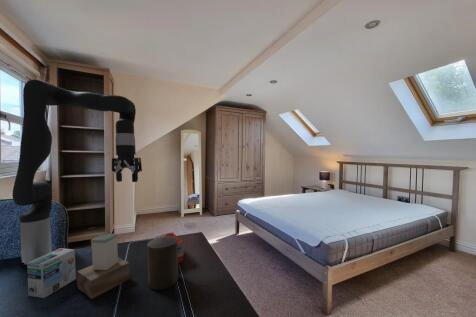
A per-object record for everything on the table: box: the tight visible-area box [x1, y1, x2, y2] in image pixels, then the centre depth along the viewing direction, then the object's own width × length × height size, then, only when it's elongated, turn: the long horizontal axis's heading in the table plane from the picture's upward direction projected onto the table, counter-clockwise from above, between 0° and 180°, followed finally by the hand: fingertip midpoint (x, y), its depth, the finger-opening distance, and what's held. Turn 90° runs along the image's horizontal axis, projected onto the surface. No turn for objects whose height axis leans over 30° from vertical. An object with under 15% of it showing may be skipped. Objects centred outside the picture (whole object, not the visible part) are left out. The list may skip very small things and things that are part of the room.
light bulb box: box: [26, 247, 77, 299], centre depth 70 cm, size 11×7×11 cm, turn 168°
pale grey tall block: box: [90, 233, 119, 270], centre depth 72 cm, size 5×5×10 cm
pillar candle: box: [146, 237, 179, 291], centre depth 72 cm, size 10×10×15 cm
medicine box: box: [154, 232, 185, 264], centre depth 89 cm, size 15×8×8 cm, turn 35°
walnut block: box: [76, 257, 131, 300], centre depth 72 cm, size 10×12×6 cm
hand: (127, 181), depth 91 cm, fingers open, 8 cm apart
